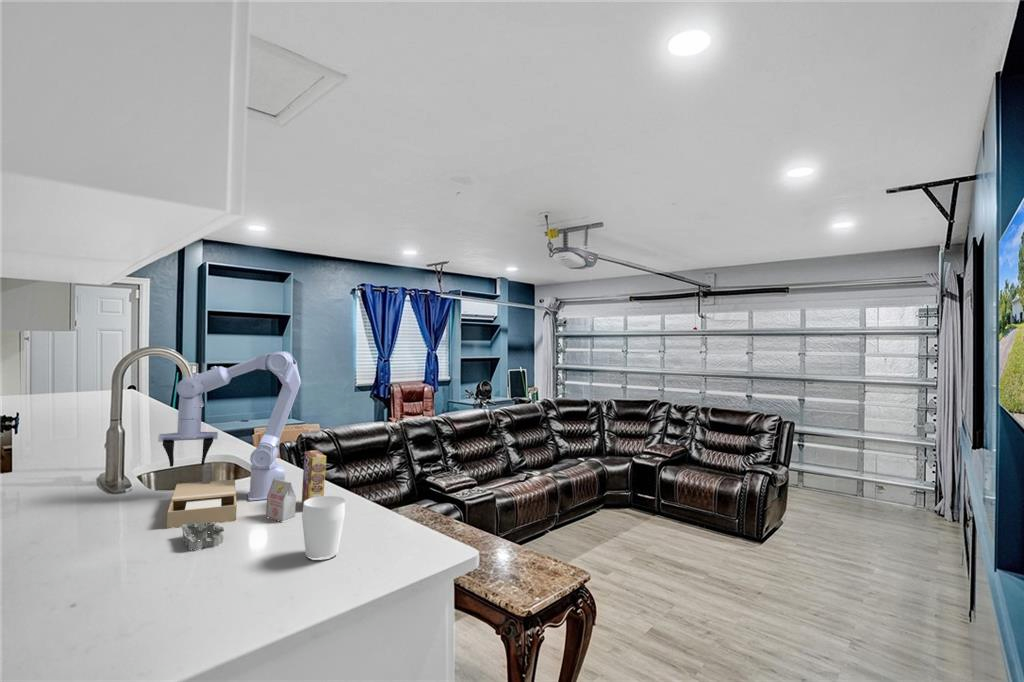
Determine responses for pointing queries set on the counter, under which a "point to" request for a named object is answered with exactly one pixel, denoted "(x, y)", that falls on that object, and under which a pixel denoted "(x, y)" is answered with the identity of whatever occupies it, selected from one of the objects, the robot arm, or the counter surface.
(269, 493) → the milk carton
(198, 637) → the counter surface
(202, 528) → the egg carton
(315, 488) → the candy box
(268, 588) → the counter surface
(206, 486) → the sliding lid
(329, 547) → the cup
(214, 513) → the carton
